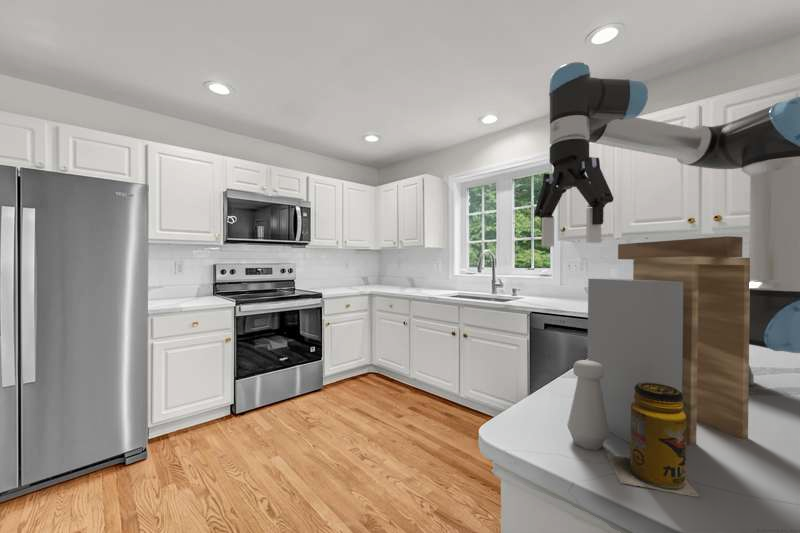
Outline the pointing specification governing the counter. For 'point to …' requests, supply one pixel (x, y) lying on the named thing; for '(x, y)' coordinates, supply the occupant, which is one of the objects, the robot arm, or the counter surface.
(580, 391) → the salt shaker
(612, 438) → the counter surface
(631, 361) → the stone block
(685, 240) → the walnut rail
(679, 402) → the condiment
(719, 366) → the oak shelf
